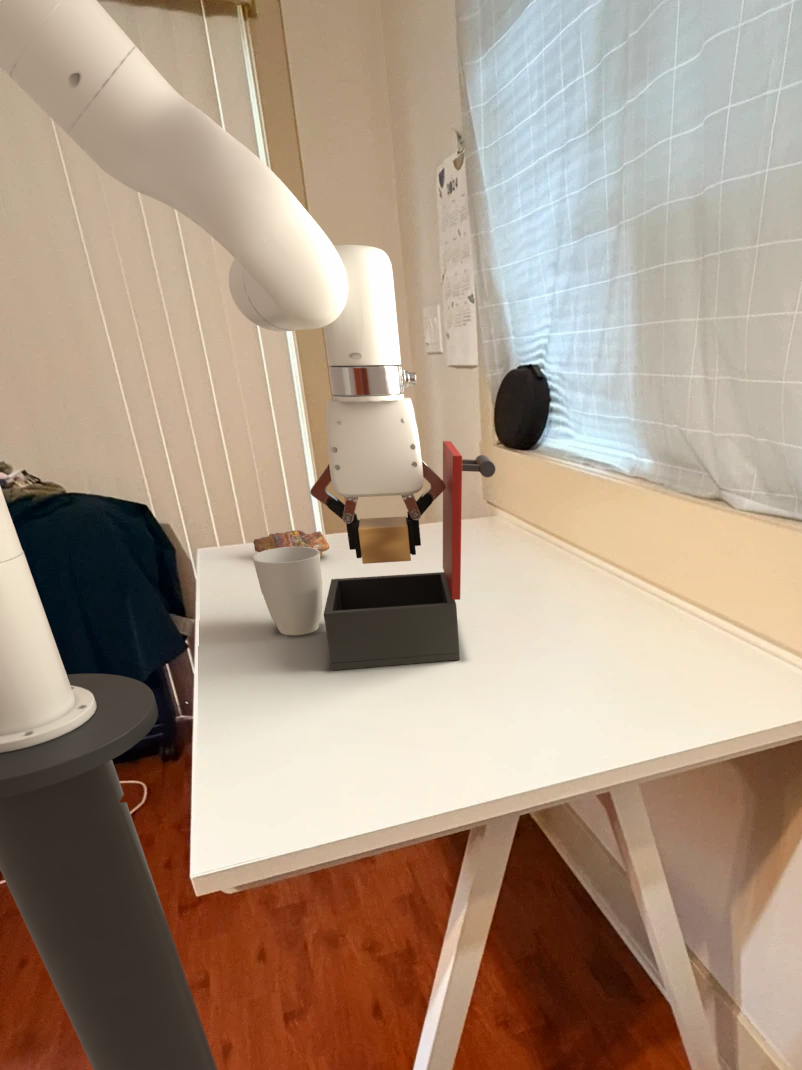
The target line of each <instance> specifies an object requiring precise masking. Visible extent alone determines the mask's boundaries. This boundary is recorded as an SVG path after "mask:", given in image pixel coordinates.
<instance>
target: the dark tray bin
mask: <svg viewBox="0 0 802 1070" xmlns="http://www.w3.org/2000/svg"><path fill="white" fill-rule="evenodd" d="M323 619H324V626H325V631H326V638H327V644H328V645H327V646H328V650H329V657H330V663H331V669H332V671H340V670H341V671H342V670H354V669H364V668H366V669H367V668H377V667H388V666H389V667H390V666H399V665H400V666H402V665H410V664H411V665H412V664H413V665H414V664H424V663H425V664H426V663H435V662H448V661H450V662H451V661H460V660H461V655H460V643H459V642H460V640H459V639H460V638H459V624H458V622H459V621H458V609H457V602H456V600H452V599H451V595H450V591H449V588H448V584H447V581H446V577H445V574H444V571H441V572H423V573H407V574H392V575H378V576H377V575H376V576H375V575H374V576H360V577H359V576H358V577H347V578H345V577H344V578H331V579H330V584H329V589H328V592H327V597H326V603H325V607H324V611H323Z"/></svg>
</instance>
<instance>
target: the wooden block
mask: <svg viewBox="0 0 802 1070" xmlns="http://www.w3.org/2000/svg"><path fill="white" fill-rule="evenodd" d="M406 517H407V515H406V516H388V517H387V516H386V517H385V516H384V517H370V518H369V517H367V518H359V519H358V520H359V527H358V532H359V539H360V547H361V555H362V557H361V561H362V564H363V565H366V564H381V563H384V564H385V563H398V562H411V561H412V558H411V557H412V555H411V554H410V545H409V535H408V525H407V521H406Z"/></svg>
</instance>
